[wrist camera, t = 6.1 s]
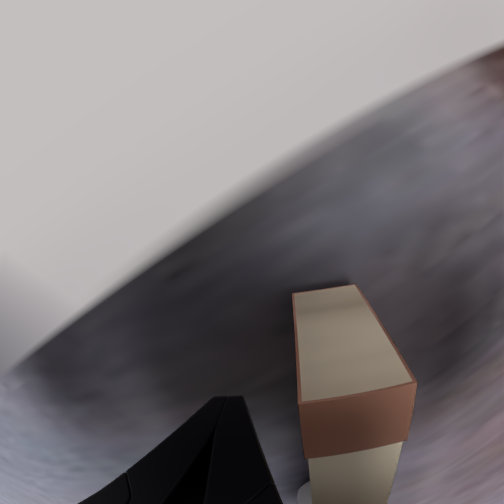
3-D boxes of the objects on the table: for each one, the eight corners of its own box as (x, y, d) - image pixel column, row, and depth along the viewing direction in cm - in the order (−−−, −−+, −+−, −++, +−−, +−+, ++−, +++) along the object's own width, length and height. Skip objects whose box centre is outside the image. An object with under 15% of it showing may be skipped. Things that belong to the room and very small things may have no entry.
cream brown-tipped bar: (365, 501, 10) (377, 577, 5) (299, 510, 10) (297, 588, 6) (380, 277, 7) (465, 376, 3) (264, 294, 8) (243, 416, 4)
